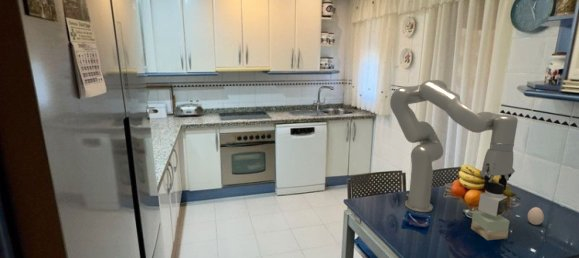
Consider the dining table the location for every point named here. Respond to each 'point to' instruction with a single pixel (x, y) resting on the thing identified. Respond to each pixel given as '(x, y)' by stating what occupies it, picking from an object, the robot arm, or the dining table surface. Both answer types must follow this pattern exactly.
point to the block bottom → (489, 232)
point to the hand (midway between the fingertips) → (494, 189)
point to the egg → (535, 216)
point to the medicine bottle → (493, 200)
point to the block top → (490, 221)
